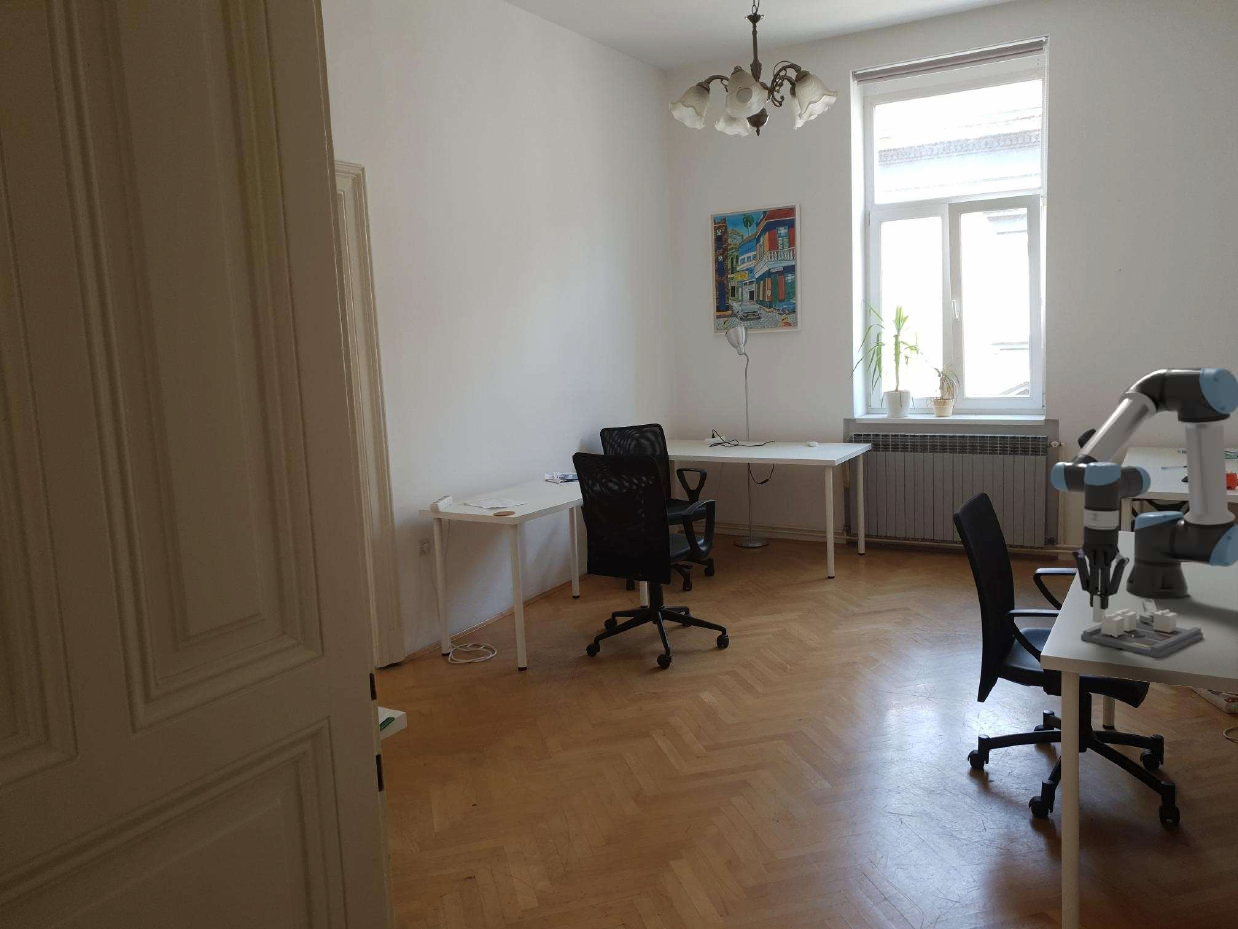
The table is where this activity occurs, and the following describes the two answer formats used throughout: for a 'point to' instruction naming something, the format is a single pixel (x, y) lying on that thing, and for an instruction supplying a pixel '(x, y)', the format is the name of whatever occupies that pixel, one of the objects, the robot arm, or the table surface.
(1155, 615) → the white notched block
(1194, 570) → the table surface
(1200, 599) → the table surface
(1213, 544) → the robot arm
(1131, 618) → the white slider knob
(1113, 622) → the white ridged block
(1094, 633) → the switch bank
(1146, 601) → the adjustable wrench
